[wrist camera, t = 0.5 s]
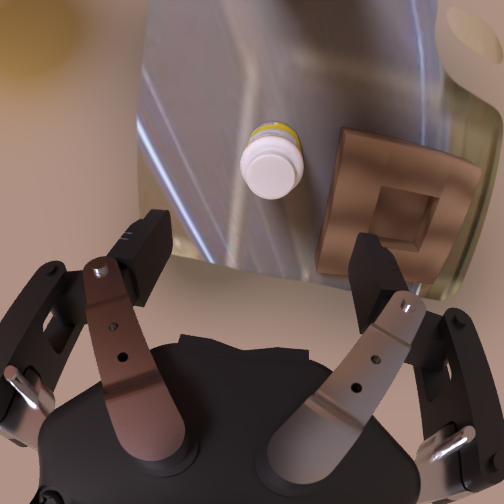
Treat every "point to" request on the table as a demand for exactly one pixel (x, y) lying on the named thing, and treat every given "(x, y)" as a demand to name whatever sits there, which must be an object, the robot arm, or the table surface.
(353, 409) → the robot arm
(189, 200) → the table surface
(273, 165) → the supplement bottle
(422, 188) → the walnut socket block
